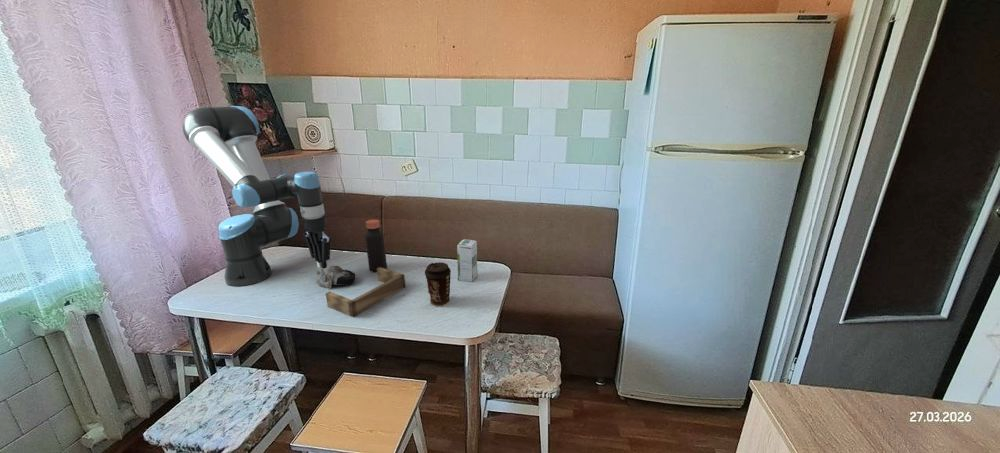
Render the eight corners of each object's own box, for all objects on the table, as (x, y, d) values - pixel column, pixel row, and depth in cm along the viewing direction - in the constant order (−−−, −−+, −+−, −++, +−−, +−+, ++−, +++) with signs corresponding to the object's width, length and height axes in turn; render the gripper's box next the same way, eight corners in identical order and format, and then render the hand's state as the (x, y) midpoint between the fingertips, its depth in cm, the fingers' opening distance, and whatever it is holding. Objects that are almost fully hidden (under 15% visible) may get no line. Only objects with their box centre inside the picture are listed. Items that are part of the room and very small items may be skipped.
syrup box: (463, 273, 152) (461, 238, 147) (477, 275, 151) (476, 240, 146) (457, 280, 147) (456, 244, 142) (472, 282, 145) (471, 245, 141)
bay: (327, 306, 130) (325, 293, 128) (381, 279, 148) (379, 267, 147) (353, 317, 124) (351, 303, 122) (405, 287, 142) (404, 274, 140)
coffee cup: (430, 294, 137) (427, 260, 132) (453, 295, 136) (452, 260, 132) (424, 308, 129) (421, 272, 124) (450, 308, 128) (448, 272, 124)
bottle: (386, 272, 154) (381, 223, 147) (368, 273, 152) (362, 224, 146) (387, 264, 160) (382, 218, 154) (369, 266, 159) (364, 219, 152)
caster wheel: (358, 285, 149) (340, 294, 139) (334, 275, 152) (314, 283, 142) (361, 269, 147) (342, 277, 138) (336, 259, 150) (316, 266, 141)
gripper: (292, 216, 139) (303, 276, 147) (315, 222, 133) (326, 284, 141) (311, 210, 146) (321, 269, 153) (334, 216, 139) (343, 276, 147)
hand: (323, 276), depth 147 cm, fingers closed
